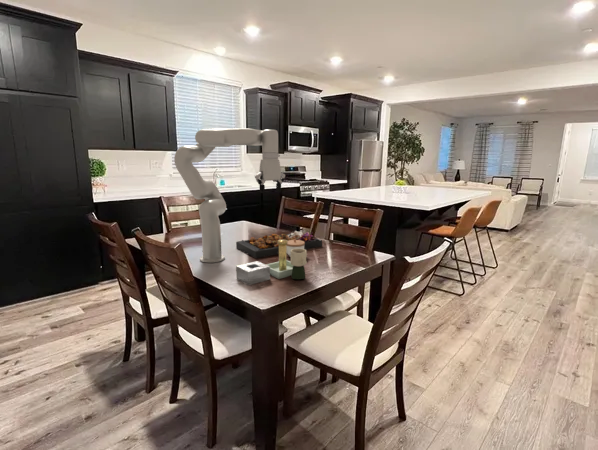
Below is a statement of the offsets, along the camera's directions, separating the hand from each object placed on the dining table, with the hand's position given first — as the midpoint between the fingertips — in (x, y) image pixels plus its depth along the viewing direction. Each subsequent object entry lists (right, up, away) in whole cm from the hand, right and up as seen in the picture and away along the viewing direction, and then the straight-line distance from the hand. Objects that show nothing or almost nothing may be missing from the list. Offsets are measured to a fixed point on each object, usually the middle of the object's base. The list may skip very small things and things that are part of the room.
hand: (270, 192), depth 167 cm
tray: (+6, -38, -5) cm, 39 cm away
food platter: (+2, -30, +39) cm, 49 cm away
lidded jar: (+12, -33, +21) cm, 41 cm away
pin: (+6, -37, -5) cm, 38 cm away
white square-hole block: (-6, -40, -14) cm, 43 cm away
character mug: (+14, -40, -13) cm, 44 cm away
